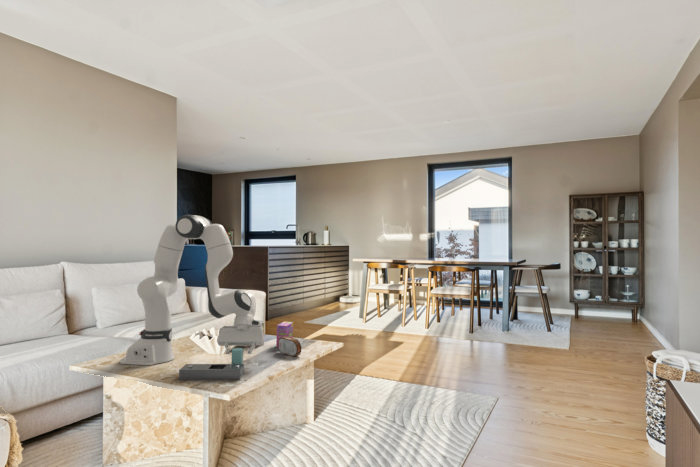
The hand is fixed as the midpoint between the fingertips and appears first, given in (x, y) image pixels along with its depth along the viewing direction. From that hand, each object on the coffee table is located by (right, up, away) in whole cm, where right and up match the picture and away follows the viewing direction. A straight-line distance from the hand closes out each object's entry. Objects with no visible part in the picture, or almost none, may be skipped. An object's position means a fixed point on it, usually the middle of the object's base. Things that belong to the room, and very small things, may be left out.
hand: (238, 353), depth 183 cm
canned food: (-3, -8, +43) cm, 43 cm away
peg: (0, -7, -1) cm, 7 cm away
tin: (+19, -8, +24) cm, 31 cm away
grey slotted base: (-8, -6, -11) cm, 15 cm away
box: (+14, -8, +41) cm, 44 cm away
